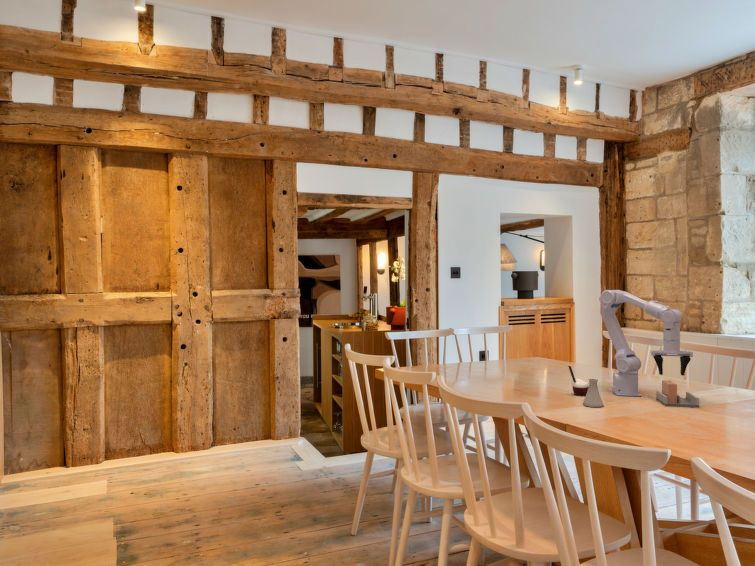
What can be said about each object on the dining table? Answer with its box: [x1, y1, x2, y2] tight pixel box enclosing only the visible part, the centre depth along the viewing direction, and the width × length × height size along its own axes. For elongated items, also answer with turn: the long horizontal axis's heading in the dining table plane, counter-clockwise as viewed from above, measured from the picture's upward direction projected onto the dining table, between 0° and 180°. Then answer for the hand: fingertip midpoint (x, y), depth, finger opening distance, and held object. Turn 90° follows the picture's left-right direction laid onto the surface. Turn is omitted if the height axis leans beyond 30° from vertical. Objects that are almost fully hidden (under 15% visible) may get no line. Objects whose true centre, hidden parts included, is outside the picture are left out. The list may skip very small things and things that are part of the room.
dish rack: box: [655, 390, 700, 409], centre depth 212 cm, size 12×12×4 cm
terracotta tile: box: [661, 380, 678, 403], centre depth 213 cm, size 8×3×7 cm, turn 168°
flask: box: [582, 378, 605, 408], centre depth 209 cm, size 7×7×10 cm
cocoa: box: [568, 365, 589, 397], centre depth 229 cm, size 10×6×12 cm, turn 77°
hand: (671, 374), depth 216 cm, fingers open, 7 cm apart
